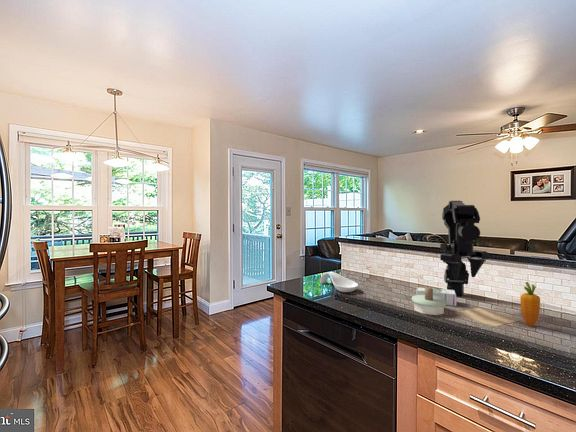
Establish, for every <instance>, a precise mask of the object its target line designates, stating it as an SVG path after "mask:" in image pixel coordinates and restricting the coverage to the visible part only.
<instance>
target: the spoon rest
mask: <svg viewBox="0 0 576 432" xmlns="http://www.w3.org/2000/svg"><path fill="white" fill-rule="evenodd" d="M329 276H330V279H331V282H332V284H333V286H334V288H335V289H336V290H337V291H339V292H340V293H352V292H354V291H356V290H357V288H358V287H359V283H358V282H355V281H354V280H352V279H350V278H347V277H345V276H343V275H341V274H339V273H336V272H335V271H329V272H328V271H327V272H325V273H323V274H322V275H321V277H320V279H319V283H320V284H321V285H322V284H326V283H328V277H329Z"/></svg>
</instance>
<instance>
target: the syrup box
mask: <svg viewBox="0 0 576 432" xmlns="http://www.w3.org/2000/svg"><path fill="white" fill-rule="evenodd" d="M425 288H426V287H421V286H420V287H419V286H416V293H415V295H425ZM432 289H433V296H438V297H441V298H444V299H445V300H446V301H447V305H446V306H453V307H456V306H457V299H458V298H457V296H456V294H455V291H454V290H447V288H445V289H443V288H433V287H432Z"/></svg>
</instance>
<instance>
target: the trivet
mask: <svg viewBox="0 0 576 432" xmlns="http://www.w3.org/2000/svg"><path fill="white" fill-rule="evenodd" d="M454 314H457V315H459V316H462V317H464V318H466V319H467V318H468V319H470V320H472V321H475V322H477V323H480V324H483V325H485V326H489V327H491V328H495V327H499V326H503V325H507V324H512V323H516V322H520V321H521V319H518V318H515V317H512V316H509V315H505V314H502V313H499V312H496V311H493V310H491V309H487V308H484V307H481V306H480V307H475V308H470V309H467V310H460V311H455V312H454Z"/></svg>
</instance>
